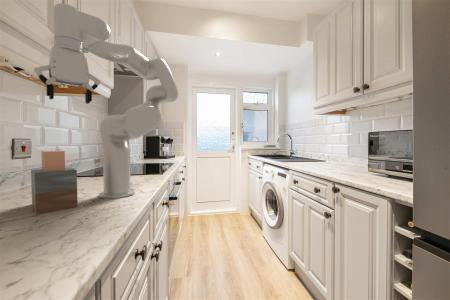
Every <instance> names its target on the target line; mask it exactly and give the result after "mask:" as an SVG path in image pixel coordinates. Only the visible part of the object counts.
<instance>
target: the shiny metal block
mask: <svg viewBox="0 0 450 300" xmlns="http://www.w3.org/2000/svg"><path fill="white" fill-rule="evenodd" d="M77 170H78V169H75V168H73V167H71V166H66V165H65V170H55V171H44V170H43V169H42V167H40V168H39V167H38V168H31V169H30V177H31V178H30V179H31V181H30V182H31V205H32V207H33V211H34V213H35V215H40V214H45V213H51V212H57V211H61V210H66V209H73V208H78V207H79V206H78V179H77V178H78V173H77V172H78V171H77Z"/></svg>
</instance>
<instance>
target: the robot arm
mask: <svg viewBox="0 0 450 300" xmlns="http://www.w3.org/2000/svg"><path fill="white" fill-rule="evenodd" d="M52 9H53V11H52V13H53V46H52V47H51V48H50V52H49V58H48V59H49V60H48V61H49V62H48V64H47V65H43V66H37V67H34V68H33V71H34V74H35V75H36V76H37V77H38V79H39V80H40V82H42V83H43V84H44V85H45V86H46V97H48V98H49V100H53V99H54V95H55V91H54V85H53V84H54V83H59V84H63V85H71V86H76V87H77V86H78V87H83V88H84V89H85V90H86V91H85V93H84V98H85V100H84V101H85V104H87V105H89V104H90V103H91V102H92V100H93V92H94V90H96V89H97V88H98V87H99V85H100V83H101V79H99V78H97V77H96V76H94V75H93V74H91V73H90V71H89V65H88V59H87V56H86V54H89V53H91V54H93V55H94V56H96V57H99V58H101V59H103V60H106V61H109V62H112V63H113V64H118V65H121V66H123V67H125V68H126V69H128V70H130V71H131V72H132V73H134V74H136V75H137V76H138V77H140V78H142V79H143V80H146V81H156V80H159V82H160V84H158V85H153V86H151V87H149V88H148V89H147V90H146V92H145V101H144V102H143V103H141V104H139V105H136V106H133V107H131V108H129V109H128V110H127V111H125V113H124V114H115V115H109V116H107V117H104V118H103V119H102V120H101V122H100V123H99V133H100V138H101V144H102V168H103V170H102V173H103V176H102V179H103V181H102V182H103V191H101V192H99V193H98V197H99V198H101V199H118V198H119V199H120V198H121V199H122V198H126V197H129V196H133V195H134V194H135V189H132V188H131V185H132V182H133V181H131V159H130V158H131V152H130V151H131V150H130V146H129V143H128V141H127V140H137V139H139V138H141V137H143V136H144V135H147V133H150V132H151V131H153V130H154V129H156V128H157V127H158V126H159V125H160V124H161V120H162V119H161V118H162V116H161V115H162V114H161V112H160V104H164V103H165V104H166V103H172V102H175V101H177V100H178V97H179V89H178V86H177V84H176V81H175V79H174V76H173V74H172V71H171V69H170V67H169V65H168V64H167V62H166V61H165V60H164V59H163V58H160V57H158V58H153V59H148V57H146V56H144V55H143V54H142V53H141V52H139V51H138V50H137V49H135V48H134V47H133V46H130V45H127V44H118V43H112V42H109V41H106V40H108V39H109V38H110V36H111V29H110V26H109V25H108V24H107V22H105V21H104V20H103V19H101V18H99V17H97V16H94V15H92V14H88V13H85V12H83V11H80V10H79V9H77V8H76V7H74V6H73V5H70V4H67V3H63V2H62V3H56V4H55V5H54V6H53V8H52ZM47 71H48V77H49V78H47V77H46V76H45V75H44V74H43V72H47ZM90 80H91V81H92V82H93V84H92V85H90V84H89V82H90Z"/></svg>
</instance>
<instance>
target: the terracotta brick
mask: <svg viewBox="0 0 450 300" xmlns="http://www.w3.org/2000/svg"><path fill="white" fill-rule="evenodd" d="M65 167H66V154H65V150H41V168H42V169H43V170H44V171H55V170H65Z"/></svg>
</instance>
